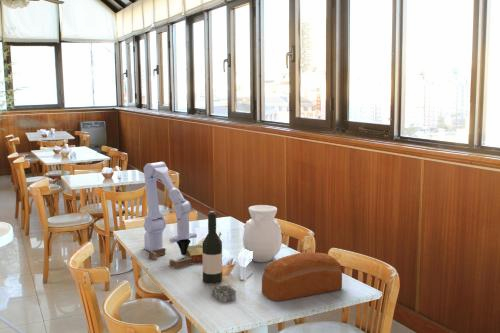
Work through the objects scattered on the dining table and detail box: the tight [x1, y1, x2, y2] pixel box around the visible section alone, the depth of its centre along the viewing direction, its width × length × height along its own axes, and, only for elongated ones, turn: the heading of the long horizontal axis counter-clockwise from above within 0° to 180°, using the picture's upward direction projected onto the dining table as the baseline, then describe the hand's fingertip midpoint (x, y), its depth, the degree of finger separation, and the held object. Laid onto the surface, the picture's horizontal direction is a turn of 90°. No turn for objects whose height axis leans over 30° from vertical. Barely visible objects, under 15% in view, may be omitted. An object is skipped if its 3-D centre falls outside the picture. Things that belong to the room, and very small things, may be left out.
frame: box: [148, 247, 192, 270], centre depth 271 cm, size 22×9×3 cm, turn 43°
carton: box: [185, 244, 203, 264], centre depth 276 cm, size 8×16×4 cm, turn 16°
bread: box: [261, 252, 343, 302], centre depth 233 cm, size 14×33×16 cm, turn 116°
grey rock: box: [211, 284, 238, 303], centre depth 227 cm, size 11×8×4 cm
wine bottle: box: [201, 210, 223, 285], centre depth 243 cm, size 8×8×30 cm
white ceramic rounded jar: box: [242, 204, 283, 263], centre depth 272 cm, size 19×18×25 cm
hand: (183, 254), depth 276 cm, fingers closed
